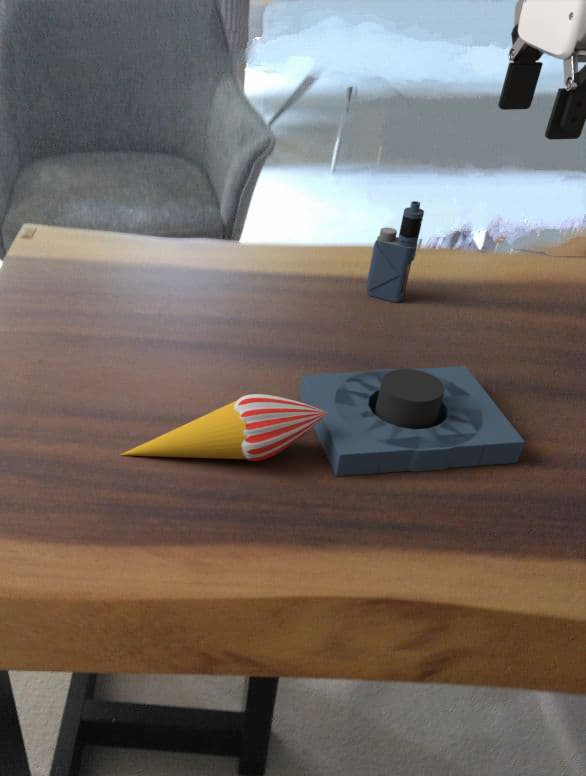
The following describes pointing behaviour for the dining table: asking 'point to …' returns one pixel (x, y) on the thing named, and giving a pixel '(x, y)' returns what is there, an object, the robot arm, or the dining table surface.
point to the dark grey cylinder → (409, 399)
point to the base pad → (402, 445)
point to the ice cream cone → (238, 430)
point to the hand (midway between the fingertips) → (536, 122)
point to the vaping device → (394, 256)
